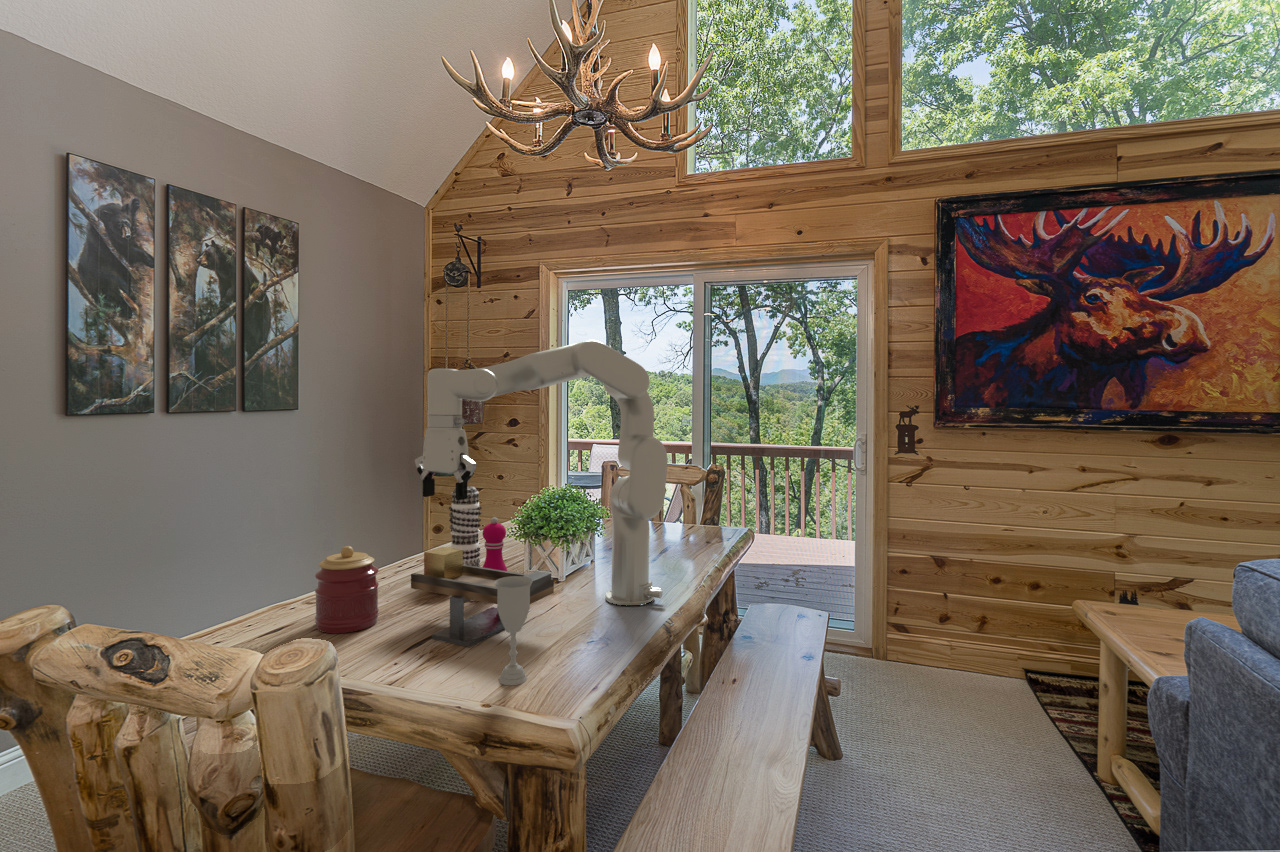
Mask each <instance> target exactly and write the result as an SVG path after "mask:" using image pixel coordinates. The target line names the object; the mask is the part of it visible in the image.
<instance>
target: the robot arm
mask: <svg viewBox="0 0 1280 852" xmlns="http://www.w3.org/2000/svg"><path fill="white" fill-rule="evenodd" d="M587 377H592V378H594V379H596V381H598V382H600V383H602V384H603V385H602V386H603V387H604V390H605V392H606V393H607V394H608V395H609V396H610V397H612V398H613V399H614V400H615V401H616V403H617V404H618V408H619V410H620V411H619V412H620V431H619V439H618V440H619V441H618V447H617V449H618V450H617V460H618V462H619V464H620V465H621V466H622V467H623V468H624V469H625V470H628V471H629V475H626V476H622V477H620V478H619V479H617V480H616V481H615V482H614V484H613V485H612V486H611V487H612V488H611V490H610V494H609V498H610V499H609V500H610V501H609V503H610V511H611V521H612V524H611V525H612V526H611V527H612V532H611V533H612V534H611V535H612V538H611V589H610V590H608V591H606V593H605V594H604V595H605V600H606V601H607V602H609V603H610V604H612V603H613V605H616V604H617V606H621V605H626V606H625V607H628V606H627V605H640V606H642V605H641V604H645V603H648V602H651V601H652V600H653V599H654V600H655V598H656V599H662V597H663V590H662V588H660V587H654V586H653V581H652V580H649V579H650V577H649V575H650V571H649V570H650V568H649V567H650V566H649V565H650V521H649V520H652V519H653V518H655V517H656V516H658V515H659V514H660V511H661V510H662V508H663V505H664V502H665V501H664V500H665V494H666V485H667V474H668V453H667V450H666V447H665V446H664V444H663V443H662V441H661V440H660V439H658V438H656V437H655V436H654V429H655V428H654V427H655V409H654V404H653V401H652V398H651V396H650V394H649V393H648V389H649V387H650V382H651V381H650V376H649V374H648V371H647V370H646V369H645V368H644V367H643V366H642V365H640V364H639V363H637V362H636V361H634V360H633V359H632V358H631V359H630V358H629V357H628V356H627V355H624V354H623V353H620V352H619V351H617V349H614V348H613V347H612V346H611V347H610V346H609V345H607V344H606V343H603V342H601V341H599V340H595V339H589V340H588V339H587V340H585V341H579V342H576V343H572V344H568V345H563V346H559V347H555V348H551V349H547V350H542V351H537V352H533V353H528V354H527V355H524V356H521V357H519V358H516V359H513V360H510V361H506V362H501V363H496V364H494V365H489V366H485V367H481V368H479V367H478V368H471V369H456V368H431V369H430V370H429V371H428V373H427V428H426V429H425V434H424V439H423V449H422V450H423V451H422V455H420V456H418V457H417V458H415V459H414V463H415V464H414V465H415V467H416V471H417V473H418V474H419V477H420V480H422V498H423V497H425V498H428V497H433V496H435V495H436V494H435V493H436V491H435V490H436V488H435V487H436V486H435V482H436V480H435V477H434V475H435V474H436V473H437V474H449V475H450V474H451V475H452V474H453V475H454V477H455V479H456V480H457V482H455V488H456V500H463V499H467V486H468V482H470V480H471V478H472V477H473V476H474V474H475V473H474V472H475V470H476V467H477V466H478V465H477V463H476V462H475V461H474V460H473V459H471V458H470V455H469V444H468V437H467V433H466V429H463V425H464V424H465V422H466V421H465V419H464V418H463V400H468V401H472V402H485V401H488V400H490V399H492V398H493V397H498V396H502V395H505V394H510V393H511V394H512V393H515V392H519V391H520V392H521V391H533V390H538V389H544V388H547V387H550V386H551V387H552V386H554V385H559V384H563V383H566V382H571V381H574V380H577V379H582V378H587ZM654 600H653V601H654ZM653 601H652V602H653ZM652 602H651V603H652ZM645 605H646V604H645Z"/></svg>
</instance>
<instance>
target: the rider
mask: <svg viewBox="0 0 1280 852" xmlns="http://www.w3.org/2000/svg"><path fill="white" fill-rule="evenodd" d="M423 575H429V576H434V577H440V578H446V579H453V578H456V577H459V576H462V575H463V549H456V548H451V547H447V546H440V547H437V548H433V549H430V550H426V551H424V553H423Z"/></svg>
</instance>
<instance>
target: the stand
mask: <svg viewBox="0 0 1280 852" xmlns="http://www.w3.org/2000/svg"><path fill="white" fill-rule="evenodd" d="M501 631H505V628H504V626H503V624H502V622H501V620H500V616H499V613H498V610H497V607H493V606H491V607H489V608H487V609H485V610H483V611H481V612H479V613H476V614H474V615H472V616H469V617H467V618H465V603H464V597H463V596H458V595H454V596H449V625H448V626H447V627H445V628H443V629H440V630H438V631H436V632H434V633H432V634H431V639H432V640H436V641H439V642H443V643H448V644H454V645H456V646H457V645H458V646H462V647H466V648H470V647H472V646H475V645H476V644H479V643H480V642H483V641H484V640H486V639H488V638H490V637H492V636H494V635H496V634H498V633H501Z"/></svg>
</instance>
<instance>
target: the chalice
mask: <svg viewBox="0 0 1280 852" xmlns="http://www.w3.org/2000/svg"><path fill="white" fill-rule="evenodd" d="M532 582H533V580H532V579H531V578H528V577H523V576H509V577H503V578H500V579H498V580H496V581H495V585H496V587H497V604H496V605H497V606H496V608H497V610H498V613H499V616H500V620H501V622H502V624H503V626H504V628H505V629H504V631H506V633H510V640H509V642H508V644H509V646H510V650H509V651H508V655H509V657H510V662H509V663H508V664H507V665H505V666H504V667H503V669H502V672H501V673H500V677H499V679H498V682H499V683H500V684H501V685H505V686H518V685H521V684H524V683H525V682H526V681H527V679H528V678H527V677H528V676H527V675H526V673H525V670H524V667H523V666H522V665H521V664H519V663H518V662H517V661H516V658H517V655H518V654H519V652H518V651H517V649H516V648H517V645H518V643H519V642H518V641H517V637H516V636H517V633H518V632H520V631H521V630H522V629H523V626H524V624H525V622H526V619H527V618H528V614H529V612H530V609H531V608H530V607H531V604H530V586H531V584H532Z"/></svg>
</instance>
